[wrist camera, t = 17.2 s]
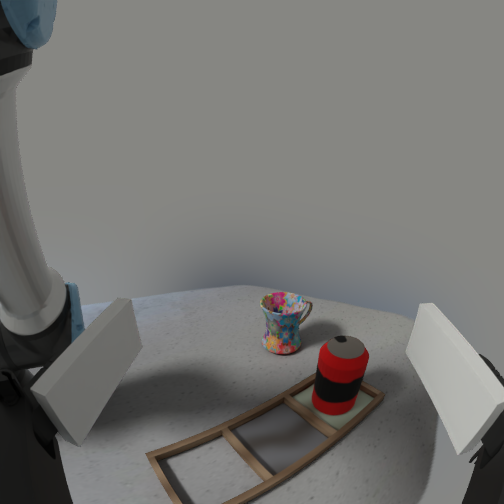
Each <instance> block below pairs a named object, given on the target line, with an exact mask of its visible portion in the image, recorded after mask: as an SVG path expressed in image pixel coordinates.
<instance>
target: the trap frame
mask: <svg viewBox="0 0 504 504" xmlns="http://www.w3.org/2000/svg"><path fill="white" fill-rule="evenodd" d="M315 377H316V373H314V374H313V375H311V376H309V377H308V378H306V379H305V380H303V381H301V382H300V383H298V384H296V385H295V386H293V387H291V388H290V389H288V390H286V391H284V392H283V393H281V394H279V395H277V396H276V397H274V398H272V399H270V400H268V401H266V402H265V403H263V404H261V405H259V406H257V407H255V408H253V409H251V410H249V411H247V412H245V413H243V414H241V415H239V416H237V417H235V418H233V419H231V420H229V421H227V422H224V423H222V424H220V425H218V426H216V427H213V428H211V429H209V430H206V431H204V432H202V433H199V434H197V435H194V436H192V437H190V438H187V439H184V440H182V441H179V442H177V443H174V444H171V445H168V446H166V447H163V448H160V449H157V450H154V451H151V452H148V453H145V454H146V456H147V458H148V460H149V462H150V464H151V466H152V467H153V469H154V471H155V473H156V475H157V477H158V478H159V480H160V482H161V484H162V485H163V487H164V489H165V491H166V492H167V494H168V496H169V497H170V499H171V500H172V502H173V504H182V502H181V501H180V499H179V498H178V496H177V494H176V493H175V491H174V490H173V488H172V486H171V485H170V483H169V482H168V480H167V478H166V476H165V475H164V473H163V471H162V470H161V468H160V466H159V464H158V462H157V461H158V460H161V459H164V458H167V457H170V456H172V455H175V454H178V453H180V452H183V451H186V450H188V449H191V448H193V447H196V446H198V445H200V444H203V443H205V442H207V441H210V440H212V439H214V438H216V437H219V436H221V435H223V436H224V438H225V439H226V440H227V441H228V442H229V444H230V445H231V446H232V447H233V448H234V449H235V451H236V452H237V453H238V454H239V455H240V456H241V457H242V458H243V460H244V461H245V462H246V463H247V464H248V465H249V466H250V467H251V468H252V469H253V470H254V471H255V473H256V474H257V475H258V476H259V477H260V478H261V479H262V480H263V481H264V482H263V483H261V484H259V485H257V486H255V487H254V488H252V489H250V490H248V491H246V492H244V493H242V494H240V495H238V496H237V497H234V498H232V499H230V500H228V501H226V502H224V503H222V504H244V503H246V502H248V501H250V500H252V499H254V498H256V497H257V496H259V495H261V494H263V493H264V492H266V491H268V490H270V489H271V488H273V487H275V486H276V485H278V484H279V483H281V482H283V481H284V480H286V479H287V478H289V477H290V476H292V475H293V474H295V473H296V472H298V471H299V470H301V469H302V468H304V467H305V466H306V465H308V464H309V463H311V462H312V461H313V460H315V459H316V458H317V457H319V456H320V455H321V454H323V453H324V452H325V451H326V450H328V449H329V448H330V447H331V446H333V445H334V444H335V443H336V442H338V441H339V440H340V439H341V438H342V437H344V436H345V435H346V434H347V433H348V432H349V431H351V430H352V429H353V428H354V427H355V426H356V425H357V424H358V423H359V422H361V421H362V420H363V419H364V418H365V417H366V416H367V415H368V414H369V413H370V412H371V411H372V410H373V409H374V408H375V407H376V406H377V405H378V404H379V403H380V402H381V401H382V400H383V399H384V396H385V394H384V393H383V392H381V391H379V390H377V389H376V388H374V387H372V386H371V385H369V384H367V383H366V382H364V381H362V383H361V386H360V389H359V392H358V395H357V398H356V401H355V404H354V406H353V408H352V409H351V410H350V411H348V412H346V413H344V414H341V415H327V414H324V413H322V412H320V411H319V410H317V409H316V408H315V407H314V405H313V403H312V393H313V388H314V382H315ZM280 404H281V405H280ZM273 408H274V409H273ZM295 412H296V413H295ZM264 413H265V414H264ZM249 421H250V422H249ZM247 422H248V423H247ZM235 428H236V429H235ZM315 428H316V429H315ZM233 429H234V430H233ZM231 430H232V431H231Z"/></svg>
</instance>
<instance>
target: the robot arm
mask: <svg viewBox="0 0 504 504" xmlns="http://www.w3.org/2000/svg"><path fill="white" fill-rule="evenodd" d="M56 6H57V0H0V504H73V502H72V499H71V495H70V492H69V489H68V485H67V481H66V477H65V473H64V469H63V465H62V460H61V456H60V451H59V445H58V441H57V439H56V437H55V434H56V433H57V431H58V432H59V433H60V435H61V436H62V437H63V438H64V440H65V441H67V442H70V443H72V444H74V445H76V446H78V447H81V445H82V443H83V441H84V440H85V438H86V436H87V435H88V433H89V431H90V430H91V428H92V426H93V425H94V423H95V421H96V420H97V418H98V416H99V415H100V413H101V412H102V410H103V408H104V407H105V405H106V403H107V402H108V400H109V399H110V397H111V395H112V394H113V392H114V391H115V389H116V388H117V386H118V384H119V383H120V381H121V380H122V378H123V377H124V375H125V373H126V372H127V370H128V369H129V367H130V366H131V364H132V363H133V361H134V360H135V358H136V356H137V355H138V353H139V352H140V350H141V349H142V343H141V339H140V335H139V331H138V327H137V323H136V319H135V314H134V310H133V305H132V300H131V299H125V298H117V299H116V300H115V301H114V302H113V303H112V304H111V305H110V306H109V307H108V308H106V309H105V310H104V311H103V312H102V313H101V314H100V315H99V316H98V317H97V318H96V319H95V320H94V321H93V322H92V323H91V324H90V325H89V326H88V327H87V328H86V329H85V328H84V322H83V316H82V311H81V305H80V298H79V291H78V287H77V285H76V284H75V283H69V282H68V283H64V281H63V278H62V277H61V275H60V274H59V273H58V272H57V271H56V270H54V269H53V268H51V267H48V266H47V264H46V261H45V258H44V255H43V252H42V249H41V246H40V243H39V240H38V237H37V233H36V229H35V226H34V222H33V219H32V215H31V211H30V206H29V202H28V198H27V193H26V188H25V183H24V179H23V173H22V166H21V159H20V152H19V143H18V132H17V120H16V119H17V118H16V88H17V86H18V84H19V83H20V81H21V80H22V78H23V77H24V76H25V75H26V74H27V72H28V71H29V70H30V68H31V65H32V53H33V49H37V48H39V47H41V46H43V45H45V44H46V43H47V42H48V41H49V39H50V37H51V34H52V30H53V22H54V20H55V15H56ZM406 354H407V356H408V357H409V359H410V361H411V363H412V364H413V366H414V368H415V370H416V372H417V373H418V375H419V377H420V379H421V381H422V383H423V385H424V386H425V388H426V390H427V392H428V394H429V396H430V398H431V400H432V402H433V404H434V406H435V408H436V410H437V412H438V414H439V416H440V418H441V420H442V422H443V424H444V426H445V428H446V430H447V433H448V435H449V437H450V439H451V441H452V444H453V446H454V448H455V451H456V453H457V455H461V454H463V453H465V452H467V451H470V450H472V449H473V448H474V447H475V446H476V445H477V444H478V442H479V441H480V440H481V441H482V443H483V445H482V447H481V448H480V449H479V450H478V451H477V452H476V453H475V454H474V456H473V457H472V458H471V459H470V461H469V463H471V462H472V461H473V460H474V459H475V458H476V457H477V456H478V457H477V460H476V462H475V463H474V464H475V467H474V471H473V474H472V477H471V480H470V483H469V486H468V488H467V491H466V494H465V497H464V499H463V501H462V504H504V379H503V378H502V376H500V374H499V372H498V371H497V370H495V367H494V366H493V365H492V363H491V362H490V361H489V360H488V359H487V358H485V357H484V356H482V355H481V354H477V352H476V351H475V350H474V349H473V348H472V346H471V345H470V344H469V343H468V342H467V340H466V339H465V338H464V337H463V336H462V335H461V333H460V332H459V331H458V330H457V329H456V328H455V327H454V325H453V324H452V323H451V322H450V321H449V320H448V319H447V318H446V317H445V316H444V315H443V313H442V312H441V311H440V310H439V309H438V308H437V307H436V306H435V305H434V304H433V303H426V304H420V306H419V310H418V313H417V317H416V321H415V324H414V327H413V331H412V334H411V337H410V340H409V343H408V346H407V349H406ZM42 366H43V368H41V369H40V370H39V371H38V373H37V374H36V375H35V376H34V375H33V374H32V373H31V372H30V371H29V370H28V369H30V368H36V367H42Z"/></svg>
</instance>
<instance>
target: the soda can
mask: <svg viewBox="0 0 504 504" xmlns="http://www.w3.org/2000/svg"><path fill="white" fill-rule="evenodd" d="M368 360H369V353H368V351H367V350H366V348H365V347H364V344H363V343H362V342H361V341H360V340H358V339H357V338H354V337H351V336H337V337H334V338H332V339H330V340H329V341H328V342H327V343H325V344H324V345H323V346H322V347H321V349H320V352H319V359H318V365H317V371H316V377H315V382H314V388H313V393H312V403H313V405H314V407H315V408H316V409H317V410H319V411H320V412H322V413H324V414H327V415H341V414H344V413H346V412H348V411H350V410H351V409H352V408H353V406H354V404H355V401H356V398H357V395H358V392H359V389H360V386H361V383H362V380H363V377H364V373H365V370H366V367H367V363H368Z"/></svg>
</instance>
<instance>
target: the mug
mask: <svg viewBox="0 0 504 504" xmlns="http://www.w3.org/2000/svg"><path fill="white" fill-rule="evenodd" d="M307 303H310V307H309V310H308V312H307V313H306V315H305V316H304V317H303V318H302V319H301V316H302V314H303V312H304V310H305V309H306V307H307ZM260 306H261V308H262V310H263V312H264V315H265V319H266V332H265V335H264V336H263V338H262V345H263V347H264V348H265V349H266V350H268V351H270V352H272V353H275V354H289V353H292V352H294V351H296V350H297V349H298V348H299V347H300V346H301V339H300V337H299V332H298V329H299V325H300V324H301V323H302V322H304V321H305V319H306V318H307V317H308V316H309V314H310V312H311V310H312V306H313V305H312V303H311V302H310V301H306V300H305V299H304V298H303V297H301V296H299V295H297V294H293V293H287V292H278V293H272V294H269V295H266V296H265V297H263V298H262V299H261V301H260ZM300 319H301V320H300Z"/></svg>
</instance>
